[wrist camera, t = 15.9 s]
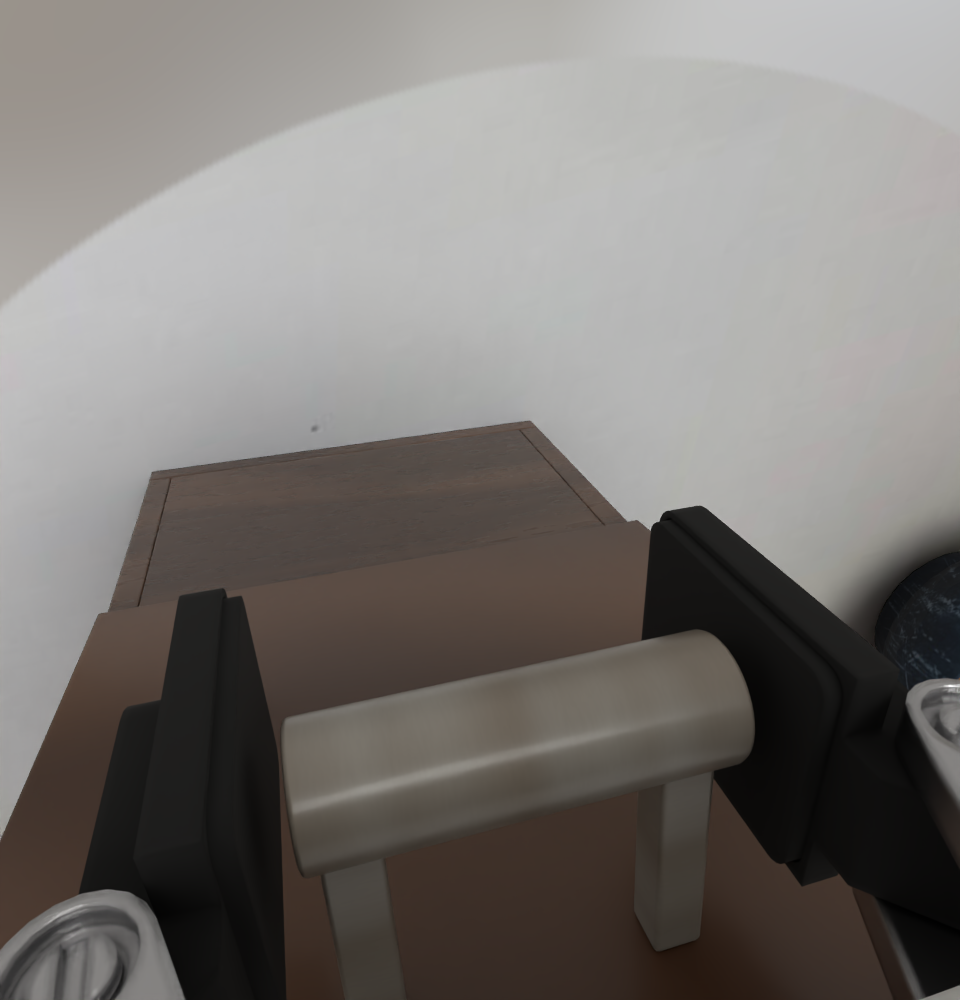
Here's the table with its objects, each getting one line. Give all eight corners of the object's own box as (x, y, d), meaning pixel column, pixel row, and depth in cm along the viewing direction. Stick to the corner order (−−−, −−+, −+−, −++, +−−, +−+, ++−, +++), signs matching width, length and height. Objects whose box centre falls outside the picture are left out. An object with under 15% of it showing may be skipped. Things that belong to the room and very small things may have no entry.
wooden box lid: (1121, 975, 10) (1266, 640, 8) (-235, 1507, 6) (-638, 1158, 4) (637, 542, 23) (641, 373, 21) (105, 638, 19) (47, 447, 17)
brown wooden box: (531, 663, 38) (610, 814, 29) (222, 729, 34) (210, 923, 26) (530, 420, 31) (631, 524, 23) (151, 471, 28) (104, 616, 19)
